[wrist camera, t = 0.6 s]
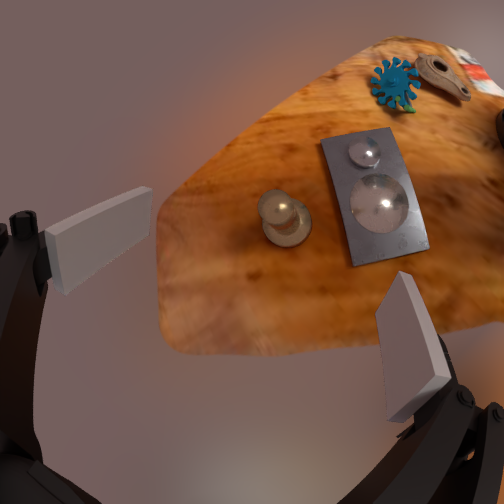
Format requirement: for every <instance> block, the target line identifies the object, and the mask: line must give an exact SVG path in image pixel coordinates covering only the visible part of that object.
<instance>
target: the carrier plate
mask: <svg viewBox="0 0 504 504" xmlns="http://www.w3.org/2000/svg"><path fill="white" fill-rule="evenodd" d="M320 141H321V145H322V149H323V152H324V155H325V158H326V161H327V165H328V168H329V171H330V175H331V178H332V182H333V185H334V189H335V193H336V196H337V200H338V204H339V208H340V212H341V216H342V220H343V224H344V228H345V233H346V237H347V241H348V246H349V251H350V255H351V260H352V265H353V267H354V266H358V265H363V264H368V263H372V262H377V261H381V260H385V259H390V258H394V257H398V256H403V255H407V254H411V253H415V252H419V251H423V250H427V249H430V247H429V243H428V239H427V234H426V230H425V226H424V223H423V219H422V215H421V212H420V208H419V205H418V201H417V198H416V195H415V192H414V189H413V186H412V183H411V180H410V177H409V174H408V171H407V169H406V166H405V163H404V160H403V158H402V155H401V153H400V150H399V148H398V145H397V143H396V141H395V138H394V136H393V134H392V131H391V129H390V127H387V128H380V129H374V130H368V131H362V132H356V133H351V134H345V135H340V136H335V137H330V138H326V139H321V140H320Z"/></svg>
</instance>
